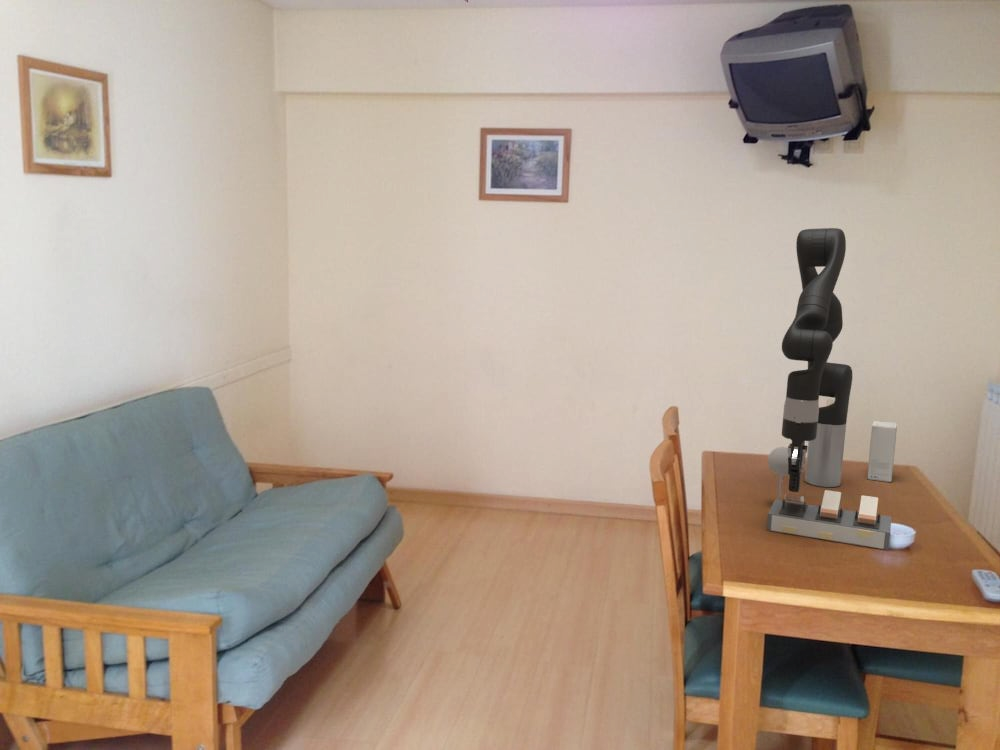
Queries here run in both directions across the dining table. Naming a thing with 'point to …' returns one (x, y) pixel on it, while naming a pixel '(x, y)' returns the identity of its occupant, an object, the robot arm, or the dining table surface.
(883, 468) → the skincare box
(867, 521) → the switch
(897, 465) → the dining table surface
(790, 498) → the switch
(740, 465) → the dining table surface
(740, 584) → the dining table surface
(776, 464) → the lollipop
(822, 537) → the switch unit
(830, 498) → the switch
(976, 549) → the dining table surface
